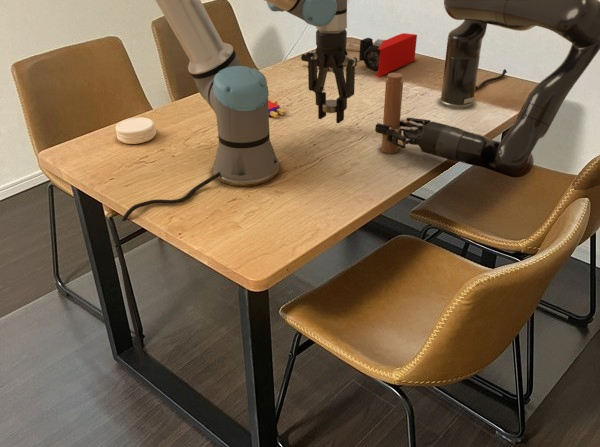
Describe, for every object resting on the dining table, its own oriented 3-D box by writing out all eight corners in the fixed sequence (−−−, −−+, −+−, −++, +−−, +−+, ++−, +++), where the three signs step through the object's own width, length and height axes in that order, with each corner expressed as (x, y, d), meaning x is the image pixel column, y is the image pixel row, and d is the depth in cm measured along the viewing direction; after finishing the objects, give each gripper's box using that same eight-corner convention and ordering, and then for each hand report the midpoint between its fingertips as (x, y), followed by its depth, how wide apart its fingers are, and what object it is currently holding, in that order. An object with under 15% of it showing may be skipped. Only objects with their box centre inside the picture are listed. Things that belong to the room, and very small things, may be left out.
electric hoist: (300, 34, 205) (379, 49, 190) (342, 21, 224) (417, 33, 209) (299, 65, 210) (376, 81, 195) (341, 49, 229) (414, 63, 214)
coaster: (128, 148, 157) (126, 135, 155) (110, 136, 163) (108, 123, 162) (163, 136, 162) (161, 124, 161) (144, 125, 169) (142, 113, 167)
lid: (344, 110, 161) (344, 103, 160) (329, 114, 159) (329, 107, 158) (332, 104, 164) (332, 98, 163) (318, 109, 162) (318, 102, 161)
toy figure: (289, 106, 174) (261, 93, 181) (270, 113, 170) (242, 99, 177) (289, 115, 175) (261, 101, 182) (270, 121, 171) (243, 107, 178)
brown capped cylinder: (378, 149, 155) (382, 75, 144) (388, 144, 157) (393, 70, 147) (390, 154, 152) (396, 79, 142) (401, 149, 154) (407, 75, 144)
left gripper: (292, 28, 152) (294, 117, 164) (356, 38, 144) (354, 131, 156) (308, 21, 157) (309, 108, 170) (371, 30, 149) (367, 120, 161)
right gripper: (460, 116, 147) (396, 101, 155) (432, 137, 137) (366, 119, 146) (456, 145, 151) (394, 128, 159) (429, 167, 141) (365, 148, 150)
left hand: (331, 119), depth 163 cm, fingers closed on lid, 5 cm apart
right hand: (381, 124), depth 153 cm, fingers closed on brown capped cylinder, 4 cm apart
